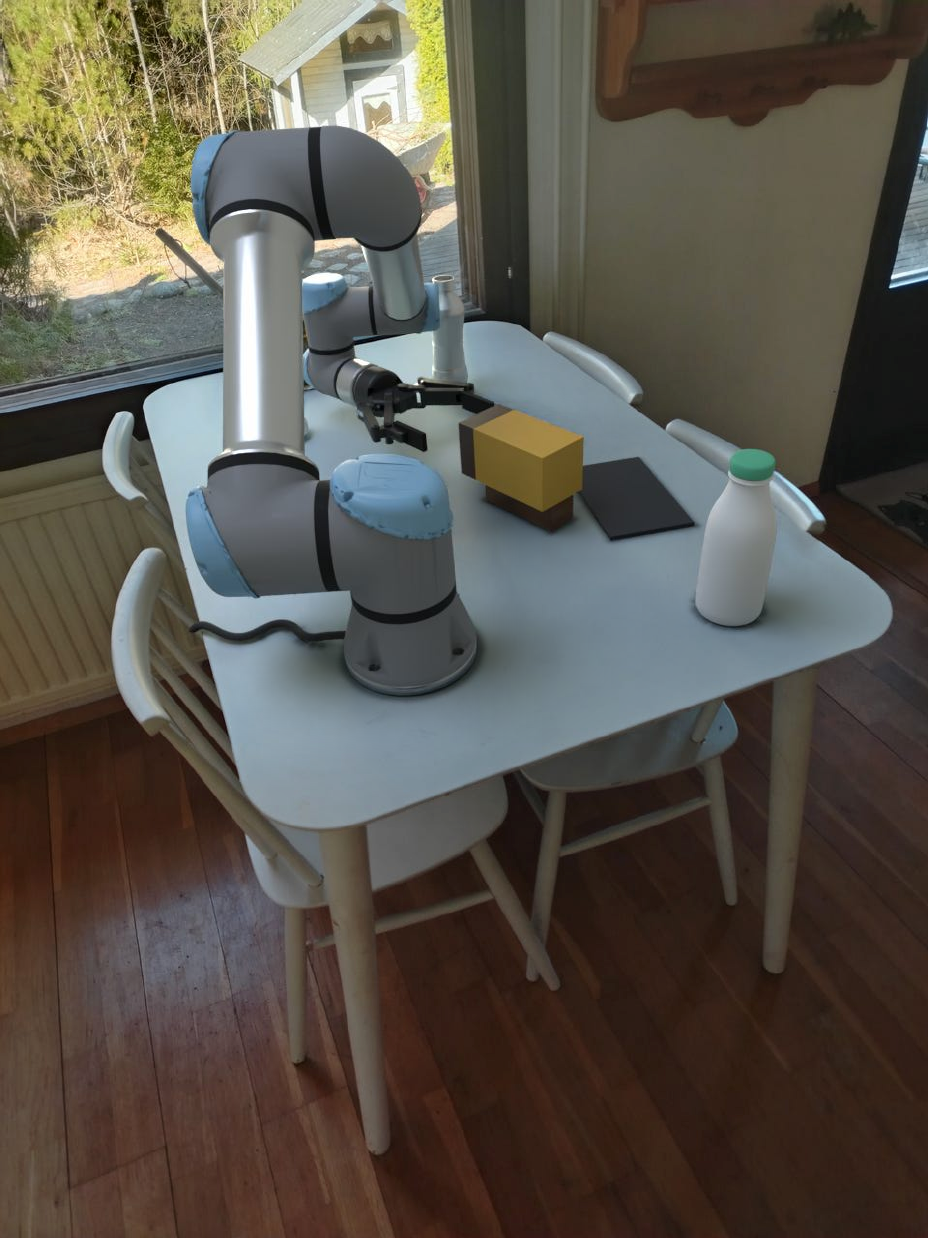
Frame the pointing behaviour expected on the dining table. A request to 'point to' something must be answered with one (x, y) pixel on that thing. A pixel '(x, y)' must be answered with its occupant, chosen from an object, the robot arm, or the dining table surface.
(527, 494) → the tea tin
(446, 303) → the plastic bottle
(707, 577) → the milk bottle
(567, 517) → the walnut block
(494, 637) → the dining table surface
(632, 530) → the mat
